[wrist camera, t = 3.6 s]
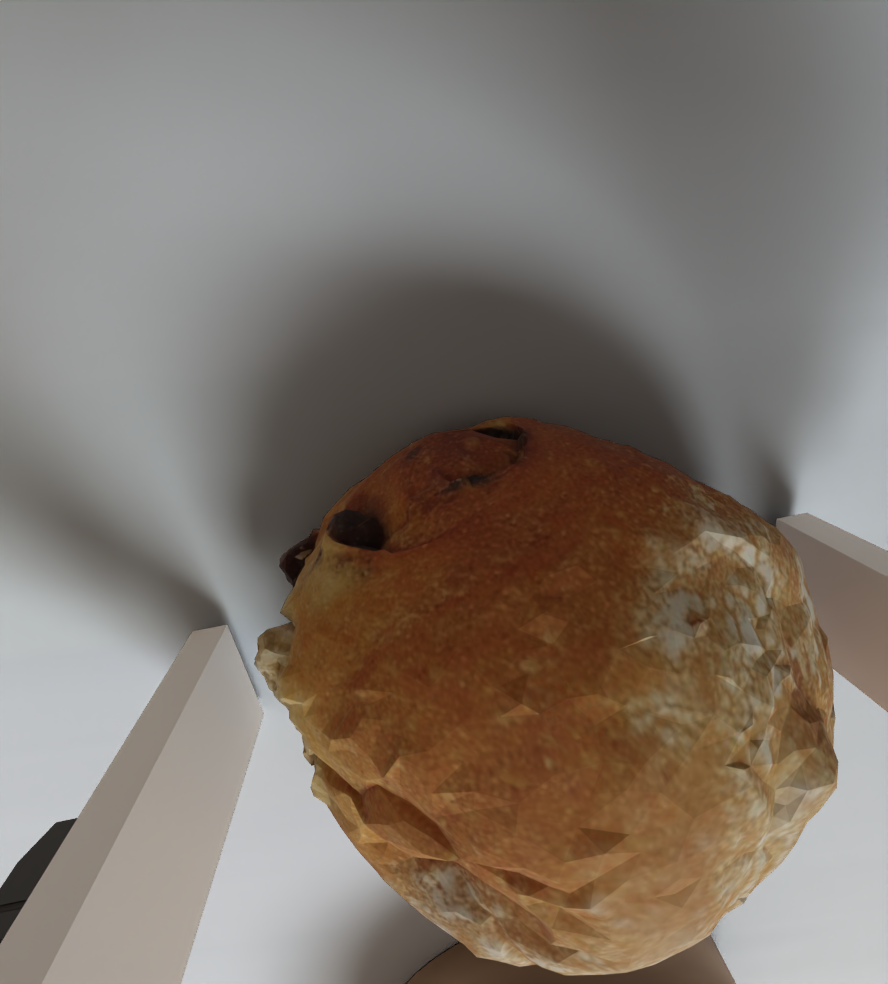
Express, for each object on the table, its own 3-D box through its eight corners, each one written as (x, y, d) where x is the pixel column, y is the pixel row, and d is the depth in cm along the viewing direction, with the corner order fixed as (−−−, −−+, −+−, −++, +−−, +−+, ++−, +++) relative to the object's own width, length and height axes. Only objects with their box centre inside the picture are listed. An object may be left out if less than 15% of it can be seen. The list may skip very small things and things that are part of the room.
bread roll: (462, 683, 16) (617, 968, 11) (154, 665, 9) (141, 1437, 4) (654, 474, 14) (978, 697, 9) (436, 250, 7) (1398, 654, 2)
